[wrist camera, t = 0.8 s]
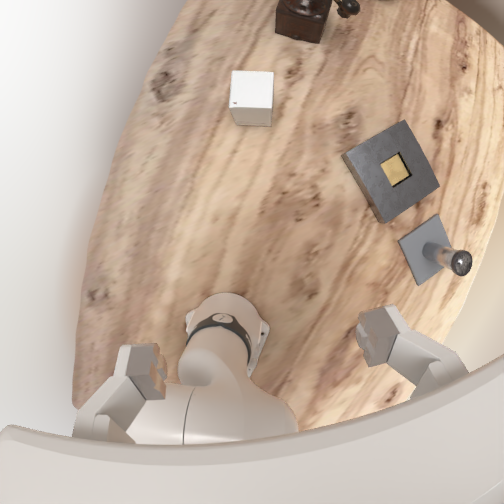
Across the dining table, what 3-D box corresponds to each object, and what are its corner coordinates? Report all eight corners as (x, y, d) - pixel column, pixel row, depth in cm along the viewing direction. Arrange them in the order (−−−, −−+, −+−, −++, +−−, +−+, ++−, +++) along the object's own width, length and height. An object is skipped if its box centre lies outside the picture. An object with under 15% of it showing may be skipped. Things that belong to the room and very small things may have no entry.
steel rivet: (435, 261, 58) (469, 277, 45) (418, 259, 59) (451, 274, 45) (439, 241, 57) (474, 252, 44) (423, 238, 58) (457, 249, 44)
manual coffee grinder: (272, 34, 52) (273, -12, 35) (284, 3, 50) (288, -44, 32) (340, 54, 52) (361, 13, 35) (348, 21, 50) (368, -22, 32)
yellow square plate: (407, 175, 55) (409, 175, 54) (389, 186, 55) (391, 186, 54) (395, 154, 54) (397, 153, 53) (378, 165, 55) (379, 164, 54)
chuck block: (431, 186, 56) (440, 186, 52) (378, 221, 59) (385, 223, 55) (397, 123, 54) (404, 119, 50) (340, 155, 57) (345, 152, 53)
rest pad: (453, 257, 59) (455, 258, 58) (416, 284, 61) (418, 285, 60) (435, 213, 57) (438, 214, 56) (397, 240, 59) (399, 241, 58)
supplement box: (271, 127, 56) (272, 110, 44) (235, 125, 57) (227, 108, 44) (273, 95, 55) (274, 71, 43) (238, 93, 55) (230, 69, 43)
